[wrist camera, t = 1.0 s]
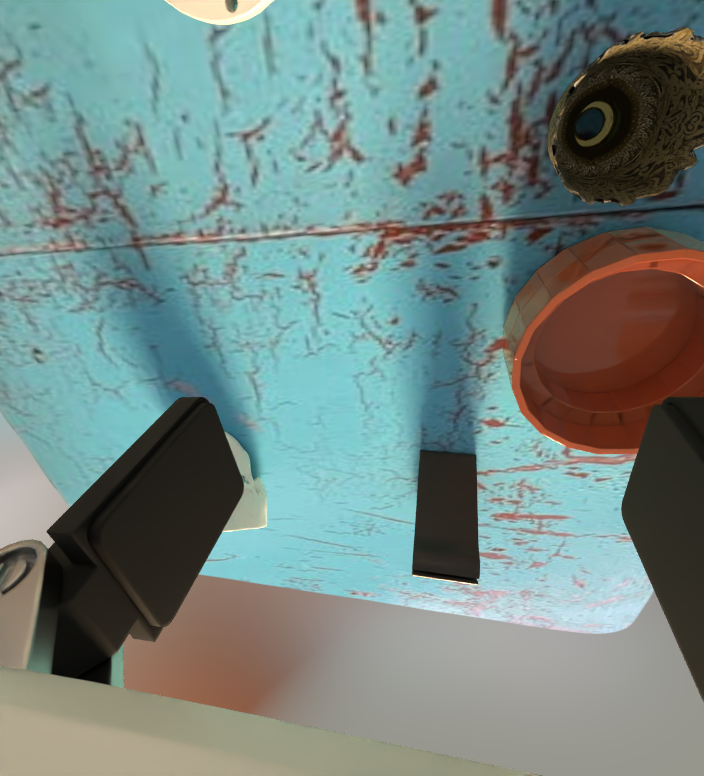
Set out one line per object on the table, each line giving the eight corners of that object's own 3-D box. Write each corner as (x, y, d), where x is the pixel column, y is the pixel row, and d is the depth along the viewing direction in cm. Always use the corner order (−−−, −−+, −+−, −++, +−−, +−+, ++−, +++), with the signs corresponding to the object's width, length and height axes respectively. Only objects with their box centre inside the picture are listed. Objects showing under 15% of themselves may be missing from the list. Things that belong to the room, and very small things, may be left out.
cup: (679, 52, 24) (767, 26, 17) (626, 189, 28) (682, 211, 21) (547, 50, 25) (583, 25, 18) (515, 183, 29) (536, 201, 22)
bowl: (504, 242, 31) (516, 267, 26) (758, 209, 27) (835, 231, 22) (500, 409, 40) (509, 454, 34) (693, 404, 35) (737, 454, 30)
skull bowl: (234, 417, 45) (217, 532, 40) (289, 451, 57) (282, 542, 52) (159, 426, 48) (134, 534, 43) (226, 456, 60) (213, 543, 55)
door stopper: (467, 509, 48) (473, 608, 38) (417, 503, 49) (410, 598, 40) (476, 453, 43) (485, 551, 33) (420, 448, 44) (413, 541, 35)
